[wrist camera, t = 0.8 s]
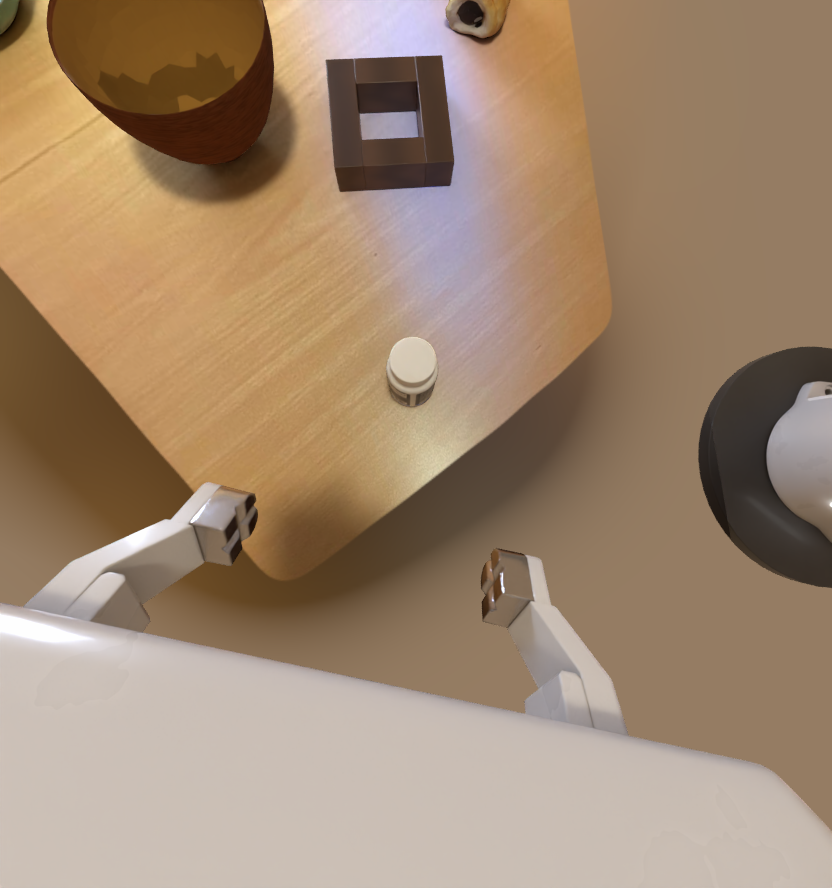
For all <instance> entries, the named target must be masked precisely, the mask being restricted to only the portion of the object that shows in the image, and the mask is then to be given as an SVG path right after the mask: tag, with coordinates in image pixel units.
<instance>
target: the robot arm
mask: <svg viewBox="0 0 832 888" xmlns="http://www.w3.org/2000/svg"><path fill="white" fill-rule="evenodd" d="M766 458H767V469H768V473H769V477H770V480H771V483H772V485H773V487H774V489H775V491H776V493H777V495H778V496H779V498H780V499H781V500H782V502H783V503H784V504H785V505H786V506H787V507H788V508H789V509H790V510H791V511H792V512H793V513H794V514H795V515H797V516H798V517H800V518H801V519H803V520H805V521H807V522H809V523H810V524H812V525H814V526H816V527H817V528H818V529H820V530H821V532H822V533H823V534H824V535H825V536H826V538H827V539H828V540H829V541H830V542H831V543H832V383H830V382H821V381H818V382H811V383H806V384H804V385H803V386H802V388H801V389H800V392H799V394H798V396H797V399H796V401H795V404H794V405H793V406H792V407H791V408H790V409H789V410H788V411H787V412H786V413H785V414H784V415H783V416H782V417H781V418H780V419H779V420H778V422H777V423H776V425H775V426H774V428H773V430H772V432H771V435H770V437H769V441H768V445H767V455H766ZM255 502H256V497H255V494H254V493H250V492H246V491H242V490H238V489H234V488H230V487H226V486H222V485H218V484H214V483H210V482H207V483H205V484H203V485H202V486H201V487H200V488H199V489H198V490H197V491H196V492H195V493H194V494H193V496H192V497H191V498H190V499H189V500H188V501H187V502H186V503H185V504H184V506H183V507H182V508H181V509H180V510H179V511H178V512H177V514H175V516H174V517H173V518H172V519H171V520H166V519H165V520H163V521H161V522H158V523H156V524H154V525H152V526H150V527H147V528H145V529H143V530H141V531H138V532H136V533H134V534H132V535H130V536H127V537H125V538H123V539H121V540H118V541H116V542H114V543H112V544H109V545H107V546H105V547H103V548H101V549H98V550H96V551H94V552H92V553H90V554H87V555H85V556H83V557H81V558H78V559H76V560H74V561H72V562H70V563H69V564H68V565H67V566H66V567H65V568H64V569H63V570H62V571H61V572H60V573H59V574H58V575H56V576H55V578H53V579H52V580H51V581H50V582H49V583H48V584H47V585H46V586H45V587H44V588H43V589H41V590H40V591H39V592H38V593H37V594H36V595H35V596H34V597H33V598H32V599H31V600H30V601H29V602H28V603H27V604H25V605H24V606H23V607H20V606H15V605H10V604H5V603H1V602H0V888H832V831H831V830H830V829H829V828H828V827H827V826H826V824H825V823H824V822H822V820H821V819H820V818H819V817H818V816H817V815H816V814H815V813H814V812H813V811H812V810H811V809H810V808H809V807H808V805H806V804H805V802H804V801H803V800H802V799H801V798H800V797H799V796H798V795H797V794H796V793H795V792H794V791H793V790H792V789H791V788H790V787H789V786H788V785H787V784H786V783H785V782H784V781H783V780H782V779H781V778H780V777H779V776H778V775H777V774H776V773H774V772H773V771H771V770H770V769H768V768H766V767H765V766H762V765H759V764H756V763H753V762H749V761H745V760H740V759H734V758H730V757H726V756H721V755H716V754H712V753H706V752H702V751H697V750H692V749H688V748H683V747H679V746H674V745H669V744H665V743H660V742H655V741H650V740H646V739H641V738H636V737H632V736H629V735H628V732H627V729H626V725H625V722H624V719H623V716H622V712H621V709H620V705H619V702H618V699H617V695H616V692H615V689H614V686H613V683H612V680H611V678H610V677H609V676H608V674H607V673H606V672H605V670H604V669H603V668H602V666H601V665H600V664H599V663H598V661H597V660H596V659H595V657H594V656H593V655H592V654H591V652H590V651H589V649H588V648H587V647H586V645H585V644H584V643H583V642H582V640H581V639H580V638H579V636H578V635H577V634H576V632H575V631H574V630H573V628H572V627H571V626H570V624H569V623H568V622H567V621H566V619H565V618H564V617H563V615H562V614H561V613H560V611H559V610H558V609H557V607H555V606H552V605H551V601H550V596H549V592H548V588H547V583H546V578H545V574H544V569H543V564H542V561H541V559H540V558H537V557H533V556H528V555H524V554H521V553H516V552H512V551H507V550H502V549H497V548H496V549H494V550H493V551H492V553H491V560H489V561H487V562H486V563H485V565H484V567H483V571H482V576H481V589H482V591H483V592H484V594H485V595H486V596H485V597H484V599H483V601H482V616H483V622H486V623H491V624H494V625H499V626H503V627H506V628H508V629H507V630H508V632H509V633H510V635H511V637H512V639H513V641H514V643H515V645H516V647H517V649H518V651H519V652H520V654H521V656H522V658H523V660H524V662H525V664H526V666H527V668H528V670H529V672H530V673H531V675H532V677H533V679H534V681H535V683H536V685H537V687H538V690H537V691H535V692H534V693H533V694H532V695H530V696H529V697H528V698H527V699H526V700H525V701H524V703H525V712H526V714H523V713H519V712H514V711H509V710H505V709H500V708H495V707H491V706H486V705H481V704H476V703H471V702H467V701H462V700H458V699H453V698H448V697H444V696H439V695H434V694H429V693H424V692H420V691H415V690H410V689H406V688H401V687H397V686H392V685H387V684H382V683H378V682H373V681H368V680H364V679H359V678H354V677H350V676H345V675H340V674H335V673H331V672H326V671H321V670H316V669H312V668H307V667H303V666H298V665H293V664H288V663H284V662H279V661H274V660H269V659H265V658H260V657H255V656H251V655H246V654H241V653H236V652H232V651H227V650H222V649H218V648H213V647H208V646H204V645H199V644H194V643H189V642H185V641H180V640H175V639H170V638H165V637H161V636H156V635H151V634H147V633H142V632H143V631H144V630H145V628H146V626H147V625H148V624H149V622H150V617H149V615H148V614H147V612H146V610H145V609H144V607H143V605H142V604H144V603H145V602H147V601H148V600H149V599H151V598H152V597H154V596H155V595H157V594H158V593H160V592H161V591H163V590H164V589H166V588H167V587H169V586H170V585H172V584H173V583H175V582H176V581H177V580H179V579H181V578H182V577H183V576H185V575H186V574H188V573H189V572H191V571H192V570H194V569H195V568H197V567H198V566H200V565H201V564H203V563H204V561H207V562H213V563H218V564H223V565H228V566H231V565H232V564H233V562H234V561H235V559H236V557H237V556H238V554H239V553H240V551H241V550H242V544H241V541H243V540H245V539H247V538H248V537H250V535H251V534H252V532H253V530H254V528H255V525H256V522H257V518H258V511H257V509H256V508H255V507H254V503H255Z"/></svg>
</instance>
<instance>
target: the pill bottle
mask: <svg viewBox="0 0 832 888" xmlns="http://www.w3.org/2000/svg"><path fill="white" fill-rule="evenodd" d="M386 373H387V378H388V384H389V389H390V392H391V394H392V396H393V398H394V399H395V400H396V401H397V402H399V403H400V404H402V405H405V406H418V405H421V404H423V403H424V402H425V401H427V400H428V398H429V397H430V395H431V393H432V391H433V388H434V385H435V382H436V379H437V376H438V363H437V359H436V353H435V351H434V349H433V347H432V346H431V345H430V343H428V342H427V341H426V340H424V339H422V338H419V337H407V338H404V339H402V340H400V341H398V342H397V343H396V344H395V345H394V346H393V348H392V350H391V352H390V356H389V358H388V361H387V365H386Z"/></svg>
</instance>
